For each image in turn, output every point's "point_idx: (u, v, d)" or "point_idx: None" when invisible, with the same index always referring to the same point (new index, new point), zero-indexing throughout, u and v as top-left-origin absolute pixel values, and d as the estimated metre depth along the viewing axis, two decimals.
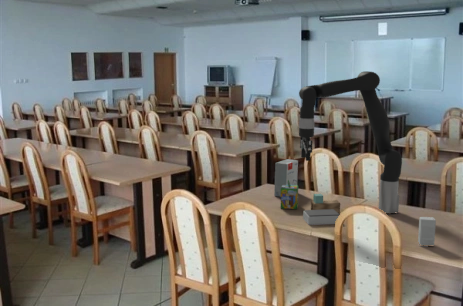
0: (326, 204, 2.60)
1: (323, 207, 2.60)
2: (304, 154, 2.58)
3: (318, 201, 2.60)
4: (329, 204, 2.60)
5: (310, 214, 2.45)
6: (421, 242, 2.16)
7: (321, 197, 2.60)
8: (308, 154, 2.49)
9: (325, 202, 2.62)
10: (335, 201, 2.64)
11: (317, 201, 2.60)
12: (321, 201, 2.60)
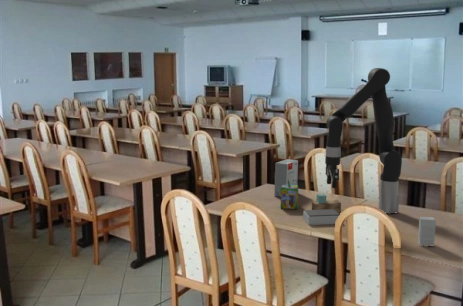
0: (327, 204, 2.60)
1: (324, 207, 2.60)
2: (330, 181, 2.65)
3: (321, 201, 2.60)
4: (330, 204, 2.60)
5: (310, 214, 2.45)
6: (421, 242, 2.16)
7: (324, 197, 2.60)
8: (334, 182, 2.56)
9: (326, 202, 2.62)
10: (336, 201, 2.64)
11: (320, 201, 2.60)
12: (324, 201, 2.60)
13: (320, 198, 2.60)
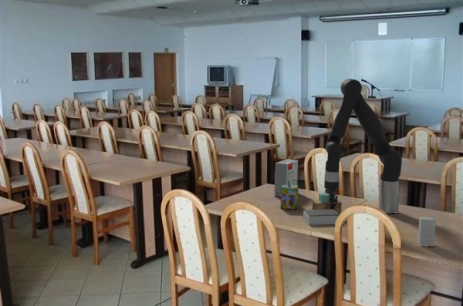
0: (327, 204, 2.60)
1: (325, 206, 2.60)
2: None
3: (324, 200, 2.60)
4: None
5: (310, 214, 2.45)
6: (421, 242, 2.16)
7: (327, 196, 2.60)
8: (332, 207, 2.60)
9: None
10: None
11: (323, 200, 2.60)
12: (327, 200, 2.60)
13: (323, 197, 2.60)
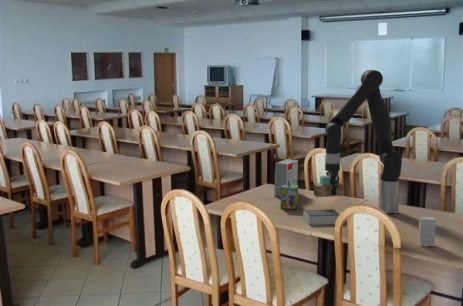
0: (329, 186, 2.58)
1: (326, 188, 2.59)
2: None
3: (325, 183, 2.58)
4: None
5: (310, 214, 2.45)
6: (421, 242, 2.16)
7: (328, 179, 2.58)
8: (334, 189, 2.58)
9: None
10: (338, 183, 2.62)
11: (324, 183, 2.58)
12: (328, 183, 2.59)
13: (324, 180, 2.58)
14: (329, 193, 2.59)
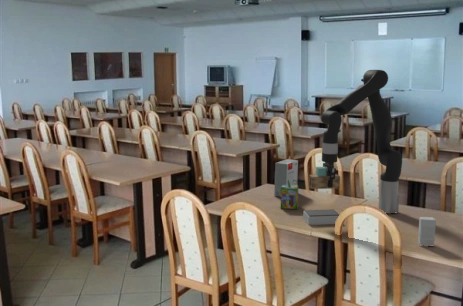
0: (325, 177, 2.44)
1: (322, 180, 2.44)
2: None
3: (321, 174, 2.44)
4: None
5: (310, 214, 2.45)
6: (421, 242, 2.16)
7: (324, 170, 2.44)
8: (330, 181, 2.44)
9: None
10: (335, 175, 2.48)
11: (320, 174, 2.44)
12: (324, 174, 2.44)
13: (320, 171, 2.44)
14: (325, 185, 2.45)
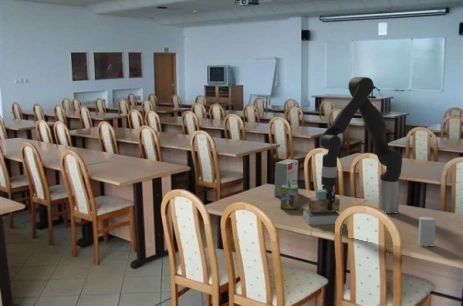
0: (325, 201, 2.45)
1: (322, 203, 2.45)
2: None
3: (321, 197, 2.45)
4: None
5: (310, 214, 2.45)
6: (421, 242, 2.16)
7: (324, 193, 2.45)
8: (330, 204, 2.45)
9: None
10: None
11: (320, 197, 2.45)
12: (324, 197, 2.45)
13: (319, 194, 2.45)
14: (325, 208, 2.46)
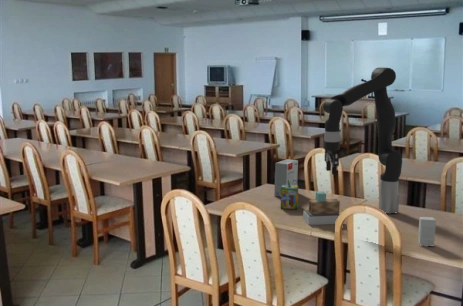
0: (325, 203, 2.45)
1: (322, 205, 2.46)
2: (329, 167, 2.54)
3: (321, 199, 2.45)
4: (328, 203, 2.46)
5: (310, 214, 2.45)
6: (421, 242, 2.16)
7: (324, 195, 2.45)
8: (334, 168, 2.44)
9: None
10: (334, 199, 2.49)
11: (320, 199, 2.45)
12: (324, 199, 2.46)
13: (319, 196, 2.45)
14: (325, 210, 2.46)
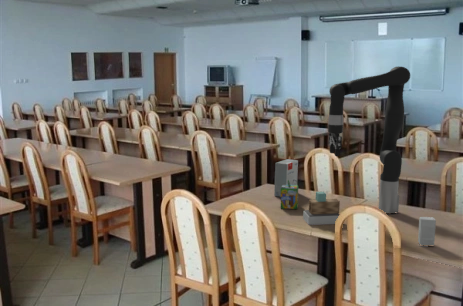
0: (325, 203, 2.45)
1: (322, 205, 2.46)
2: (332, 150, 2.66)
3: (321, 199, 2.45)
4: (328, 203, 2.46)
5: (310, 214, 2.45)
6: (421, 242, 2.16)
7: (324, 195, 2.45)
8: (337, 150, 2.56)
9: None
10: (334, 199, 2.49)
11: (320, 199, 2.45)
12: (324, 199, 2.46)
13: (319, 196, 2.45)
14: (325, 210, 2.46)
